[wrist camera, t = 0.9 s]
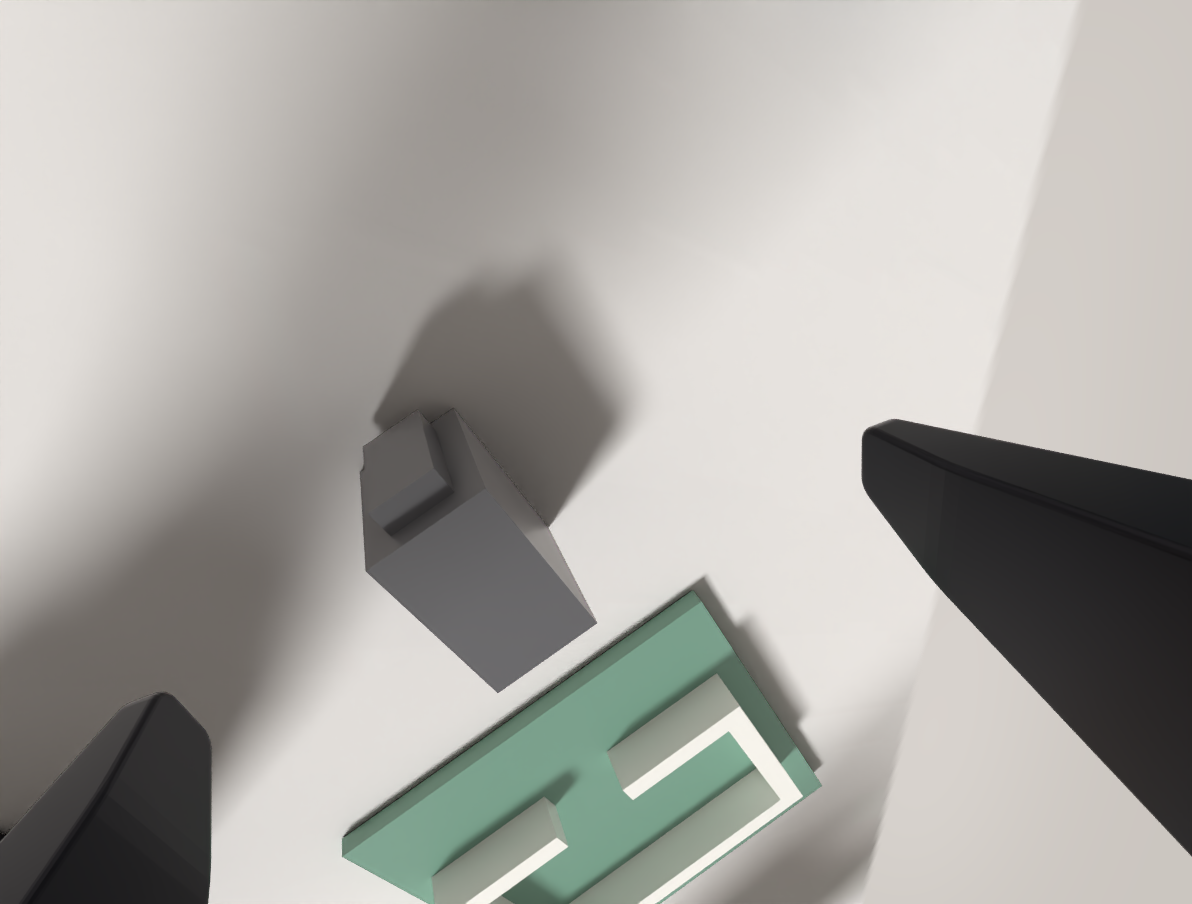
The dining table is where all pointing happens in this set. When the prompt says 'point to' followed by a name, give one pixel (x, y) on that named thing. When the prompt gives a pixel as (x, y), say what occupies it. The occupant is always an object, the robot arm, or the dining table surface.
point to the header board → (600, 782)
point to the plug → (466, 549)
